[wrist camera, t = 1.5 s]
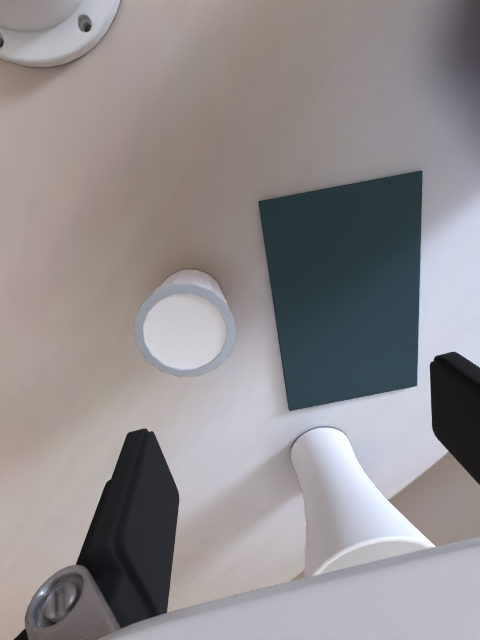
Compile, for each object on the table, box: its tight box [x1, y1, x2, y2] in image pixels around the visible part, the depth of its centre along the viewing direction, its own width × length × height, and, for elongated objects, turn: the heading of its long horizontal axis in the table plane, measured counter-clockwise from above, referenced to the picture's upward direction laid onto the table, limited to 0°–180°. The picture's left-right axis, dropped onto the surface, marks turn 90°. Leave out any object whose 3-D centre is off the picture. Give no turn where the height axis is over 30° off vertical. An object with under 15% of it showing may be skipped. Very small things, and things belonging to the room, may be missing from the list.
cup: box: [290, 427, 435, 578], centre depth 30 cm, size 10×10×14 cm
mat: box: [259, 171, 422, 411], centre depth 30 cm, size 13×20×1 cm, turn 10°
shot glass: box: [134, 270, 236, 377], centre depth 26 cm, size 7×7×7 cm
